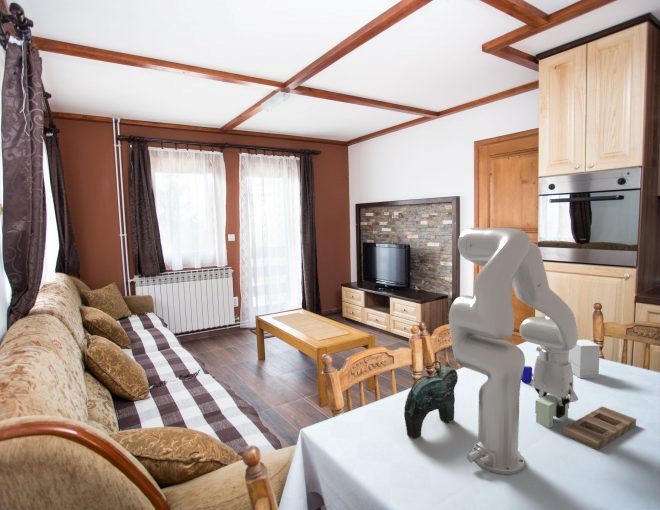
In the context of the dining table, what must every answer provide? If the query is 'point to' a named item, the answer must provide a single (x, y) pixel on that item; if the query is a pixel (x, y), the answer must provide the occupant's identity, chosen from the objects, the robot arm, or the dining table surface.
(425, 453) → the dining table surface
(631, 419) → the brown wooden board
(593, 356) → the supplement box
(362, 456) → the dining table surface
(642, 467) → the dining table surface
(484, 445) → the robot arm
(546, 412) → the tall sage green block
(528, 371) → the cable clip
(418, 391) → the green ceramic figurine
